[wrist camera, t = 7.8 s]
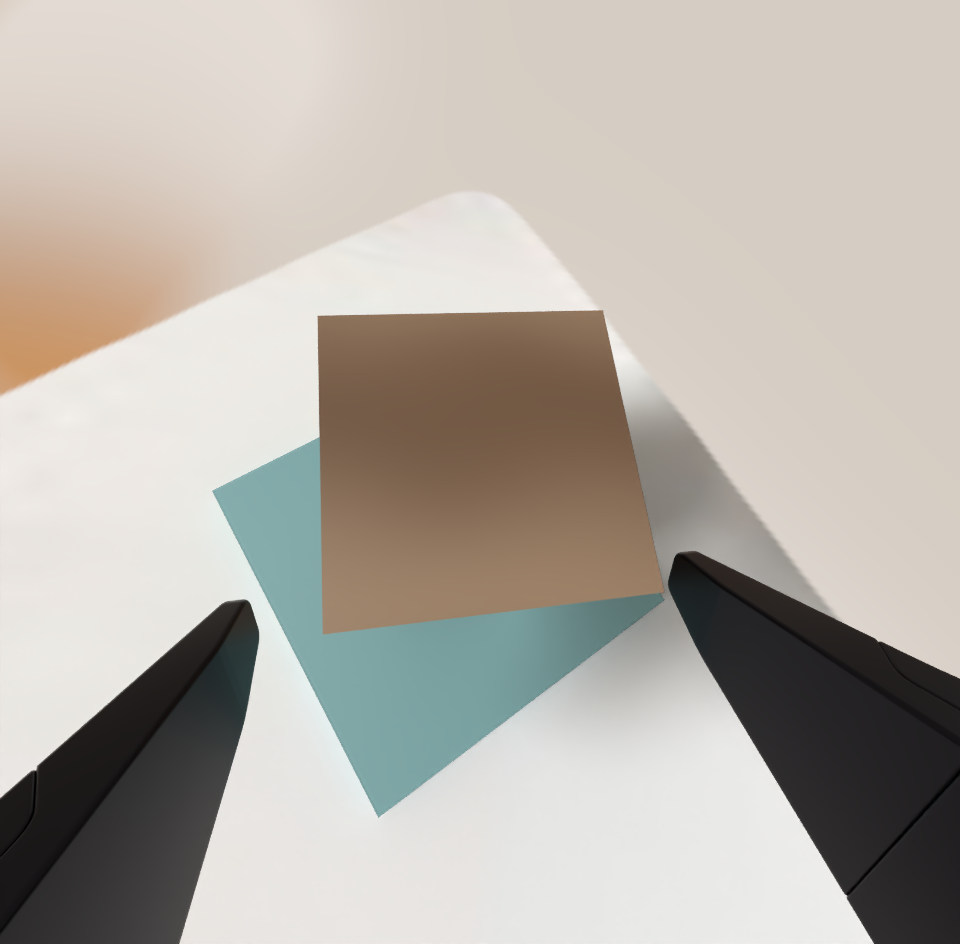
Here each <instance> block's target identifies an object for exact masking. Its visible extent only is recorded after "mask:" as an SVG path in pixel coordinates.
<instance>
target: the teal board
mask: <svg viewBox="0 0 960 944" xmlns="http://www.w3.org/2000/svg"><path fill="white" fill-rule="evenodd" d="M213 493H214V495H215V497H216V499H217V501H218V503H219V505H220V507H221V509H222V511H223V513H224V515H225V517H226V519H227V521H228V523H229V525H230V527H231V529H232V531H233V533H234V535H235V537H236V539H237V541H238V543H239V545H240V546H241V548H242V550H243V552H244V554H245V556H246V558H247V560H248V562H249V564H250V566H251V568H252V570H253V572H254V574H255V576H256V578H257V580H258V582H259V584H260V586H261V588H262V590H263V592H264V594H265V596H266V598H267V600H268V602H269V603H270V605H271V607H272V609H273V611H274V613H275V615H276V617H277V619H278V621H279V623H280V625H281V627H282V629H283V631H284V633H285V635H286V637H287V639H288V641H289V643H290V645H291V647H292V649H293V651H294V653H295V655H296V657H297V659H298V660H299V662H300V664H301V666H302V668H303V670H304V672H305V674H306V676H307V678H308V680H309V682H310V684H311V686H312V688H313V690H314V692H315V694H316V696H317V698H318V700H319V702H320V704H321V706H322V708H323V710H324V712H325V714H326V716H327V717H328V719H329V721H330V723H331V725H332V727H333V729H334V731H335V733H336V735H337V737H338V739H339V741H340V743H341V745H342V747H343V749H344V751H345V753H346V755H347V757H348V759H349V761H350V763H351V765H352V767H353V769H354V771H355V773H356V774H357V776H358V778H359V780H360V782H361V784H362V786H363V788H364V790H365V792H366V794H367V796H368V798H369V800H370V802H371V804H372V806H373V808H374V810H375V812H376V814H377V816H378V818H379V817H380V816H381V815H382V814H384V813H385V812H386V811H388V810H389V809H390V808H392V807H393V806H394V805H396V804H397V803H398V802H400V801H401V800H402V799H403V798H405V797H406V796H407V795H409V794H410V793H411V792H413V791H414V790H415V789H417V788H418V787H419V786H421V785H422V784H423V783H425V782H426V781H427V780H428V779H430V778H431V777H432V776H434V775H435V774H436V773H438V772H439V771H440V770H442V769H443V768H444V767H446V766H447V765H448V764H449V763H451V762H452V761H453V760H455V759H456V758H457V757H459V756H460V755H461V754H463V753H464V752H465V751H467V750H468V749H469V748H471V747H472V746H473V745H474V744H476V743H477V742H478V741H480V740H481V739H482V738H484V737H485V736H486V735H488V734H489V733H490V732H492V731H493V730H494V729H495V728H497V727H498V726H499V725H501V724H502V723H503V722H505V721H506V720H507V719H509V718H510V717H511V716H513V715H514V714H515V713H516V712H518V711H519V710H520V709H522V708H523V707H524V706H526V705H527V704H528V703H530V702H531V701H532V700H534V699H535V698H536V697H538V696H539V695H540V694H541V693H543V692H544V691H545V690H547V689H548V688H549V687H551V686H552V685H553V684H555V683H556V682H557V681H559V680H560V679H561V678H562V677H564V676H565V675H566V674H568V673H569V672H570V671H572V670H573V669H574V668H576V667H577V666H578V665H580V664H581V663H582V662H584V661H585V660H586V659H587V658H589V657H590V656H591V655H593V654H594V653H595V652H597V651H598V650H599V649H601V648H602V647H603V646H605V645H606V644H607V643H608V642H610V641H611V640H612V639H614V638H615V637H616V636H618V635H619V634H620V633H622V632H623V631H624V630H626V629H627V628H628V627H630V626H631V625H632V624H633V623H635V622H636V621H637V620H639V619H640V618H641V617H643V616H644V615H645V614H647V613H648V612H649V611H651V610H652V609H653V608H654V607H656V606H657V605H658V604H660V603H661V602H662V601H664V599H663V597H662V596H661V594H660V593H655V594H647V595H639V596H630V597H622V598H614V599H606V600H598V601H590V602H582V603H574V604H566V605H558V606H550V607H541V608H533V609H525V610H517V611H509V612H501V613H493V614H485V615H477V616H469V617H461V618H452V619H444V620H436V621H428V622H420V623H412V624H404V625H396V626H388V627H380V628H372V629H363V630H355V631H347V632H339V633H331V634H323V618H322V555H321V491H320V437H319V438H317V439H315V440H313V441H311V442H309V443H307V444H305V445H303V446H301V447H299V448H297V449H295V450H293V451H291V452H289V453H287V454H285V455H283V456H281V457H279V458H277V459H275V460H273V461H271V462H269V463H267V464H265V465H263V466H261V467H259V468H257V469H255V470H253V471H251V472H249V473H247V474H245V475H243V476H241V477H239V478H237V479H235V480H233V481H231V482H229V483H227V484H225V485H223V486H221V487H219V488H217V489H215V490H213Z"/></svg>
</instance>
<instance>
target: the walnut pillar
mask: <svg viewBox="0 0 960 944" xmlns="http://www.w3.org/2000/svg"><path fill="white" fill-rule="evenodd" d="M318 364H319V428H320V491H321V555H322V618H323V634H331V633H339V632H347V631H355V630H363V629H372V628H380V627H388V626H396V625H404V624H412V623H420V622H428V621H436V620H444V619H452V618H461V617H469V616H477V615H485V614H493V613H501V612H509V611H517V610H525V609H533V608H541V607H550V606H558V605H566V604H574V603H582V602H590V601H598V600H606V599H614V598H622V597H630V596H639V595H647V594H655V593H663V592H664V589H663V584H662V579H661V575H660V570H659V566H658V561H657V557H656V552H655V547H654V543H653V538H652V534H651V529H650V524H649V520H648V515H647V511H646V506H645V502H644V497H643V492H642V488H641V483H640V479H639V474H638V469H637V465H636V460H635V456H634V451H633V447H632V442H631V437H630V433H629V428H628V424H627V419H626V415H625V410H624V405H623V401H622V396H621V392H620V387H619V382H618V378H617V373H616V369H615V364H614V360H613V355H612V350H611V346H610V341H609V337H608V332H607V327H606V323H605V318H604V314H603V310H602V311H549V312H496V313H443V314H390V315H337V316H318Z"/></svg>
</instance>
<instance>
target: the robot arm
mask: <svg viewBox="0 0 960 944" xmlns="http://www.w3.org/2000/svg"><path fill="white" fill-rule="evenodd" d="M668 586H669V590H670V593H671V595H672V597H673V599H674V601H675V603H676V606H677V608H678V610H679V612H680V614H681V616H682V618H683V620H684V622H685V624H686V627H687V629H688V631H689V633H690V635H691V637H692V639H693V641H694V643H695V645H696V647H697V649H698V651H699V653H700V655H701V656H702V658H703V660H704V662H705V663H706V665H707V667H708V668H709V670H710V672H711V673H712V675H713V677H714V678H715V680H716V682H717V683H718V685H719V687H720V688H721V690H722V692H723V693H724V695H725V697H726V698H727V700H728V702H729V703H730V705H731V707H732V708H733V710H734V712H735V713H736V715H737V717H738V718H739V720H740V722H741V723H742V725H743V727H744V728H745V730H746V732H747V733H748V735H749V736H750V738H751V740H752V741H753V743H754V745H755V746H756V748H757V750H758V751H759V753H760V755H761V756H762V758H763V760H764V761H765V763H766V765H767V766H768V768H769V770H770V771H771V773H772V775H773V776H774V778H775V780H776V781H777V783H778V785H779V786H780V788H781V790H782V791H783V793H784V795H785V796H786V798H787V800H788V801H789V803H790V804H791V806H792V808H793V809H794V811H795V813H796V814H797V816H798V818H799V819H800V821H801V823H802V824H803V826H804V828H805V829H806V831H807V833H808V834H809V836H810V838H811V839H812V841H813V843H814V844H815V846H816V848H817V849H818V851H819V853H820V854H821V856H822V858H823V859H824V861H825V863H826V864H827V866H828V868H829V869H830V871H831V873H832V874H833V876H834V877H835V879H836V881H837V882H838V884H839V886H840V887H841V889H842V891H843V892H844V894H845V895H847V900H848V901H849V903H850V905H851V906H852V908H853V910H854V911H855V913H856V915H857V916H858V918H859V920H860V921H861V923H862V925H863V926H864V928H865V929H866V931H867V933H868V934H869V936H870V938H871V939H872V941H873V943H874V944H960V679H959V678H957V677H955V676H953V675H950V674H948V673H946V672H944V671H941V670H939V669H937V668H935V667H933V666H931V665H929V664H926V663H924V662H922V661H920V660H918V659H916V658H914V657H912V656H910V655H907V654H905V653H903V652H901V651H899V650H897V649H895V648H893V647H891V646H889V645H887V644H885V643H883V642H878V641H877V640H876V639H875V638H873V637H871V636H869V635H867V634H865V633H862V632H860V631H858V630H856V629H854V628H852V627H850V626H848V625H846V624H844V623H842V622H840V621H838V620H836V619H834V618H832V617H830V616H828V615H826V614H824V613H822V612H819V611H817V610H815V609H813V608H811V607H809V606H807V605H805V604H803V603H801V602H799V601H797V600H795V599H793V598H791V597H789V596H787V595H785V594H783V593H781V592H779V591H776V590H774V589H772V588H770V587H768V586H766V585H764V584H762V583H760V582H758V581H756V580H754V579H752V578H750V577H748V576H746V575H744V574H742V573H740V572H738V571H736V570H734V569H731V568H729V567H727V566H725V565H723V564H721V563H719V562H717V561H715V560H713V559H711V558H709V557H707V556H705V555H703V554H701V553H699V552H696V551H688V552H680V553H678V554H677V555H676V556H675V558H674V561H673V565H672V569H671V572H670V576H669V580H668ZM258 644H259V629H258V626H257V623H256V620H255V617H254V613H253V610H252V607H251V604H250V603H249V601H247V600H235V601H227V602H224V603H223V604H221V605H220V606H219V607H218V608H217V609H215V610H214V611H213V612H212V613H211V614H210V615H209V616H208V617H206V618H205V619H204V620H203V621H202V622H201V623H200V624H198V625H197V626H196V627H195V628H194V629H193V630H192V631H190V632H189V633H188V634H187V635H186V636H185V637H184V638H182V639H181V640H180V641H179V642H178V643H177V644H176V645H174V646H173V647H172V648H171V649H170V650H169V651H168V652H166V653H165V654H164V655H163V656H162V657H161V658H160V659H159V660H157V661H156V662H155V663H154V664H153V665H152V666H151V667H149V668H148V669H147V670H146V671H145V672H144V673H143V674H141V675H140V676H139V677H138V678H137V679H136V680H135V681H133V682H132V683H131V684H130V685H129V686H128V687H127V688H125V689H124V690H123V691H122V692H121V693H120V694H119V695H117V696H116V697H115V698H114V699H113V700H112V701H111V702H110V703H108V704H107V705H106V706H105V707H104V708H103V709H102V710H100V711H99V712H98V713H97V714H96V715H95V716H94V717H92V718H91V719H90V720H89V721H88V722H87V723H86V724H84V725H83V726H82V727H81V728H80V729H79V730H78V731H76V732H75V733H74V734H73V735H72V736H71V737H70V738H68V739H67V740H66V741H65V742H64V743H63V744H62V745H61V746H59V747H58V748H57V749H56V750H55V751H54V752H53V753H51V754H50V755H49V756H48V757H47V758H46V759H45V760H43V761H42V762H41V763H40V764H39V765H38V766H37V770H34V771H31V772H30V773H28V774H27V775H26V776H25V777H24V778H23V779H22V780H20V781H19V782H18V783H17V784H16V785H15V786H14V787H12V788H11V789H10V790H9V791H8V792H7V793H6V794H4V795H3V796H2V797H1V798H0V944H179V943H180V939H181V936H182V933H183V929H184V926H185V922H186V919H187V916H188V912H189V909H190V905H191V902H192V899H193V895H194V892H195V888H196V885H197V882H198V878H199V875H200V871H201V868H202V865H203V861H204V858H205V854H206V851H207V848H208V844H209V841H210V837H211V834H212V831H213V827H214V824H215V820H216V817H217V814H218V810H219V807H220V803H221V800H222V797H223V793H224V790H225V786H226V783H227V780H228V776H229V773H230V769H231V766H232V763H233V759H234V756H235V752H236V749H237V746H238V742H239V739H240V735H241V732H242V728H243V724H244V721H245V716H246V711H247V706H248V701H249V695H250V689H251V684H252V678H253V672H254V666H255V661H256V655H257V649H258Z"/></svg>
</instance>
